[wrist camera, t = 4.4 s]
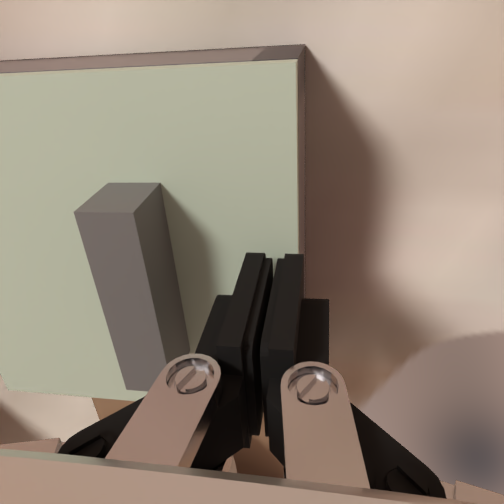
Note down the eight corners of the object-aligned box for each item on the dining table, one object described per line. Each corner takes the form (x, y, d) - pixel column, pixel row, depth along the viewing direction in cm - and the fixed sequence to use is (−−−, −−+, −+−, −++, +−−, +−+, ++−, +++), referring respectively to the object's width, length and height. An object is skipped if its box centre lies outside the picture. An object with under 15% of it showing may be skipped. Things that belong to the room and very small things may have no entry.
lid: (300, 402, 17) (296, 464, 15) (16, 379, 19) (-25, 430, 17) (297, 59, 11) (289, 76, 9) (-125, 79, 13) (-220, 97, 11)
